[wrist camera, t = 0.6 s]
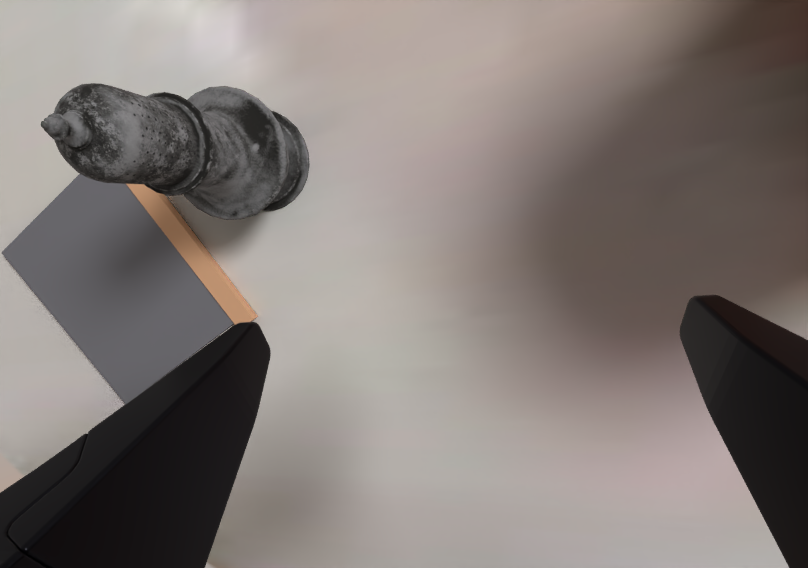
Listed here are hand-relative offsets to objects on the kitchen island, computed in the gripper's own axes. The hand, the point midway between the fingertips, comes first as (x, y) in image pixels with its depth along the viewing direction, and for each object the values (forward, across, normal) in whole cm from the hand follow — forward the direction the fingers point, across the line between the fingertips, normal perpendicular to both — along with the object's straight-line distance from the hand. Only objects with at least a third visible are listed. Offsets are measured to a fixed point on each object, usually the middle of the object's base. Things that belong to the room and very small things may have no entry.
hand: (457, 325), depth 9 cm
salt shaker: (+15, +10, +1) cm, 18 cm away
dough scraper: (+12, +21, +6) cm, 25 cm away
